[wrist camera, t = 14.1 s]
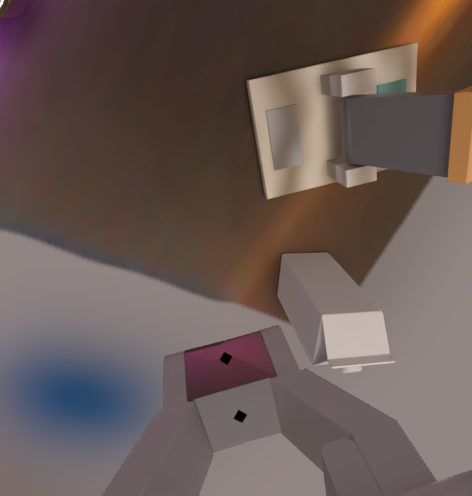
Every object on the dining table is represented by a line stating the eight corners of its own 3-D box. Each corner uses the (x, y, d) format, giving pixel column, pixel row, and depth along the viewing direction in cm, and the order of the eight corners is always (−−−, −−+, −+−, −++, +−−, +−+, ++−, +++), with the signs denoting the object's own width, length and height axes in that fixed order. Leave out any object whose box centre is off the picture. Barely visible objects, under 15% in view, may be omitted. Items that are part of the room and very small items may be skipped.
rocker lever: (340, 164, 42) (465, 184, 31) (336, 97, 38) (475, 91, 27) (355, 158, 43) (482, 174, 32) (353, 92, 39) (494, 84, 28)
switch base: (264, 195, 47) (279, 213, 41) (245, 80, 41) (260, 81, 35) (406, 160, 49) (441, 172, 42) (409, 43, 42) (451, 38, 36)
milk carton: (281, 253, 51) (338, 339, 35) (327, 251, 53) (404, 334, 36) (276, 295, 55) (326, 393, 38) (320, 292, 56) (387, 386, 39)
